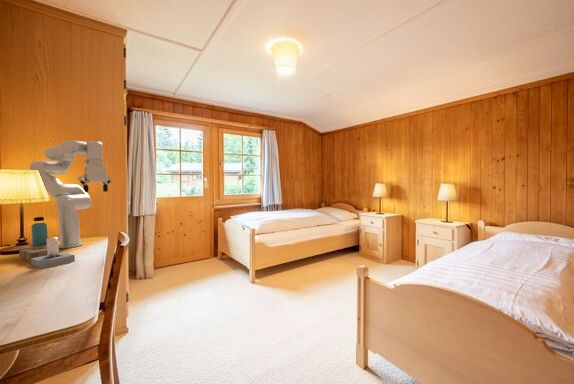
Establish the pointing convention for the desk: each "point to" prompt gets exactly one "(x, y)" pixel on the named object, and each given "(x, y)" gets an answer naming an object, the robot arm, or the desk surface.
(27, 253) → the brown wooden block
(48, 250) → the axle peg
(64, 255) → the seat block
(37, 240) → the beverage bottle
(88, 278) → the desk surface
